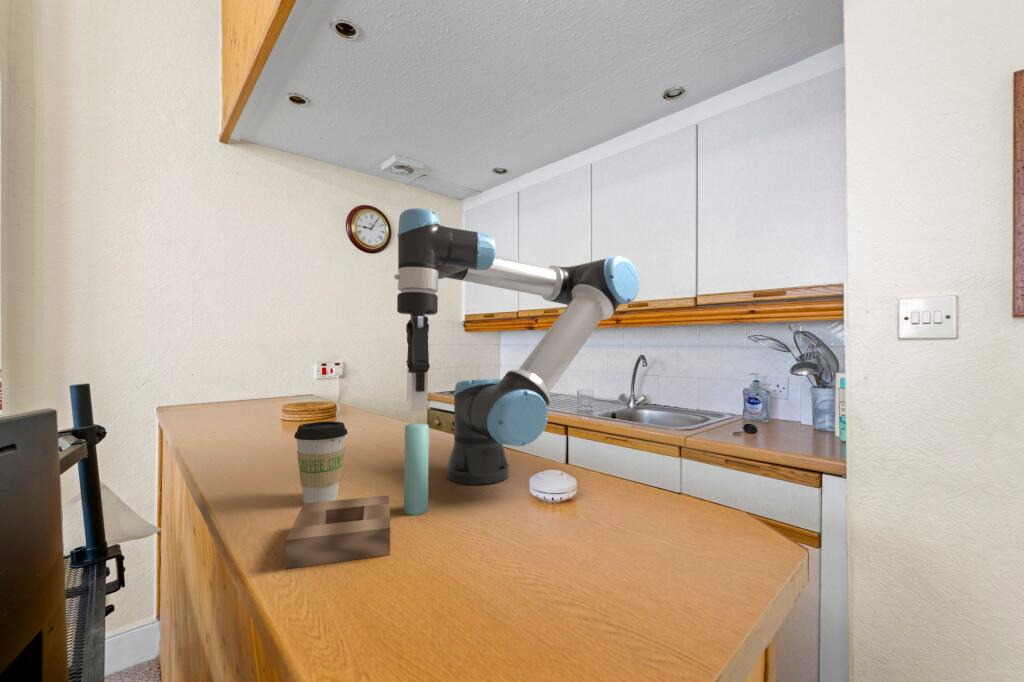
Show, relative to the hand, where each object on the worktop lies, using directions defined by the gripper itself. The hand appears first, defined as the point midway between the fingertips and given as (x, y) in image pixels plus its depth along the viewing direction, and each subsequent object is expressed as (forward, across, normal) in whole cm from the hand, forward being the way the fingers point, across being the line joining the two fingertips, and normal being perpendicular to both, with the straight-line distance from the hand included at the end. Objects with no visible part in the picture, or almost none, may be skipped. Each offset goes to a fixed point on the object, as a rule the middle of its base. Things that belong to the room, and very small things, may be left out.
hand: (416, 405), depth 79 cm
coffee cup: (+20, -11, -18) cm, 29 cm away
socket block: (+20, +9, -12) cm, 25 cm away
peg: (+20, 0, 0) cm, 20 cm away
